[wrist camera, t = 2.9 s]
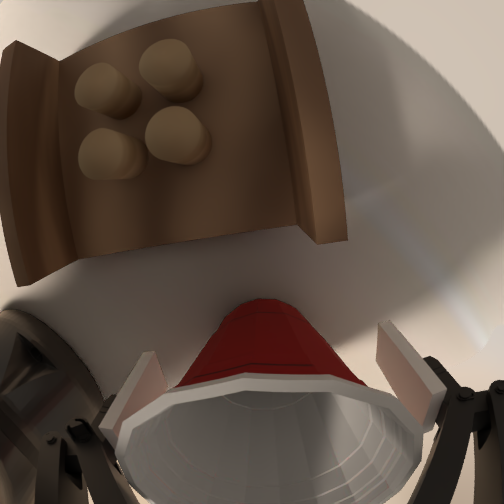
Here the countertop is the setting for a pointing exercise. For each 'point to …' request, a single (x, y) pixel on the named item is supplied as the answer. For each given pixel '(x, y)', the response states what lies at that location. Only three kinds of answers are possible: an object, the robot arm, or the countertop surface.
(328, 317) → the countertop surface
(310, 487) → the plastic cup
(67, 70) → the peg board
